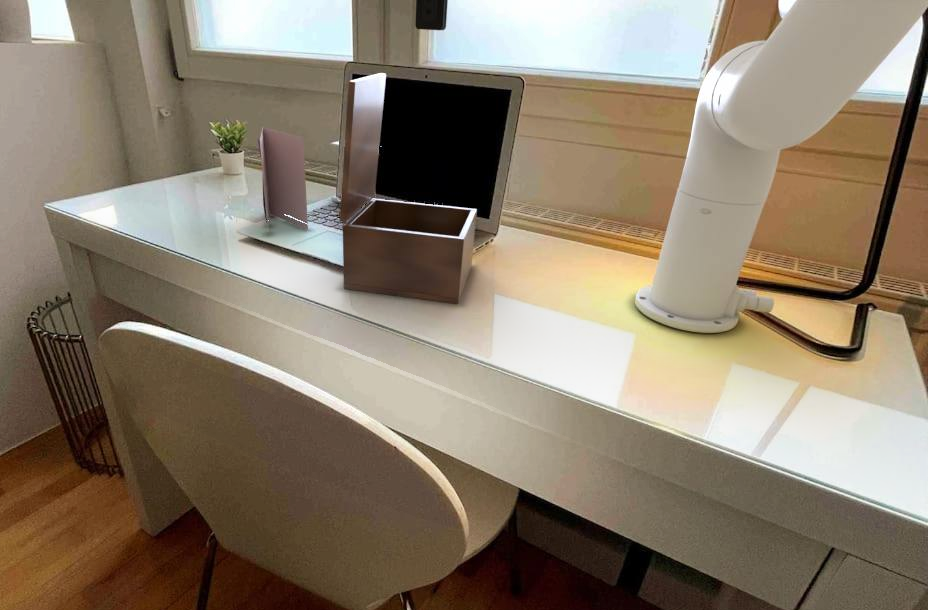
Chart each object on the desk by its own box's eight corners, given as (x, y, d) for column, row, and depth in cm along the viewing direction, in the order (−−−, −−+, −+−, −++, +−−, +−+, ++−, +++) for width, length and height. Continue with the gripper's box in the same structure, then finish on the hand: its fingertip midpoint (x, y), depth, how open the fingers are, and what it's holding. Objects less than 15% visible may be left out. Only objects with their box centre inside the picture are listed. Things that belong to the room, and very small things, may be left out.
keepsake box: (471, 266, 85) (477, 209, 81) (458, 304, 74) (464, 239, 69) (371, 254, 88) (372, 197, 84) (343, 288, 76) (342, 225, 72)
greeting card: (265, 214, 103) (257, 127, 95) (306, 213, 104) (302, 127, 97) (262, 235, 93) (253, 140, 86) (308, 234, 95) (303, 140, 87)
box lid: (386, 73, 75) (380, 72, 75) (355, 82, 63) (348, 81, 63) (374, 195, 83) (369, 194, 83) (345, 222, 72) (339, 221, 72)
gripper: (468, -209, 49) (452, 31, 58) (486, -160, 62) (471, 31, 71) (385, -208, 50) (381, 28, 59) (420, -160, 63) (413, 28, 73)
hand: (430, 28), depth 65 cm, fingers closed
